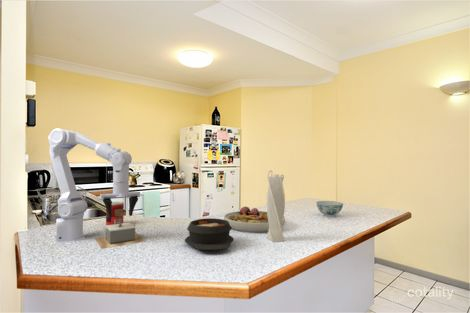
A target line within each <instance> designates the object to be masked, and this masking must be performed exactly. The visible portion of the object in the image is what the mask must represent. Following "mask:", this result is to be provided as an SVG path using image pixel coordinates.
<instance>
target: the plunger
mask: <svg viewBox="0 0 470 313" xmlns="http://www.w3.org/2000/svg"><path fill="white" fill-rule="evenodd" d="M115 216H119V227H122V216H123V217H125V216H127V209H119V210H115Z"/></svg>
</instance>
